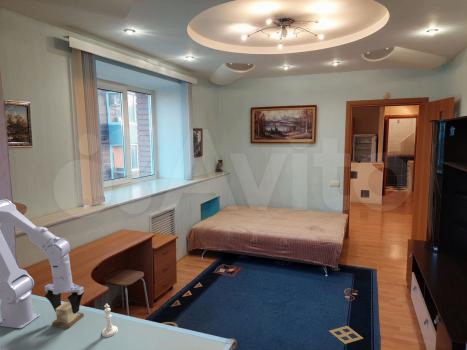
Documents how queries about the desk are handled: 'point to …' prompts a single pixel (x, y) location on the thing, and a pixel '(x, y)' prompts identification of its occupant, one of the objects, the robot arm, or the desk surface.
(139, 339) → the desk surface
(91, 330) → the desk surface
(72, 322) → the brown framed square tile
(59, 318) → the birch cube
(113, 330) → the chess piece
